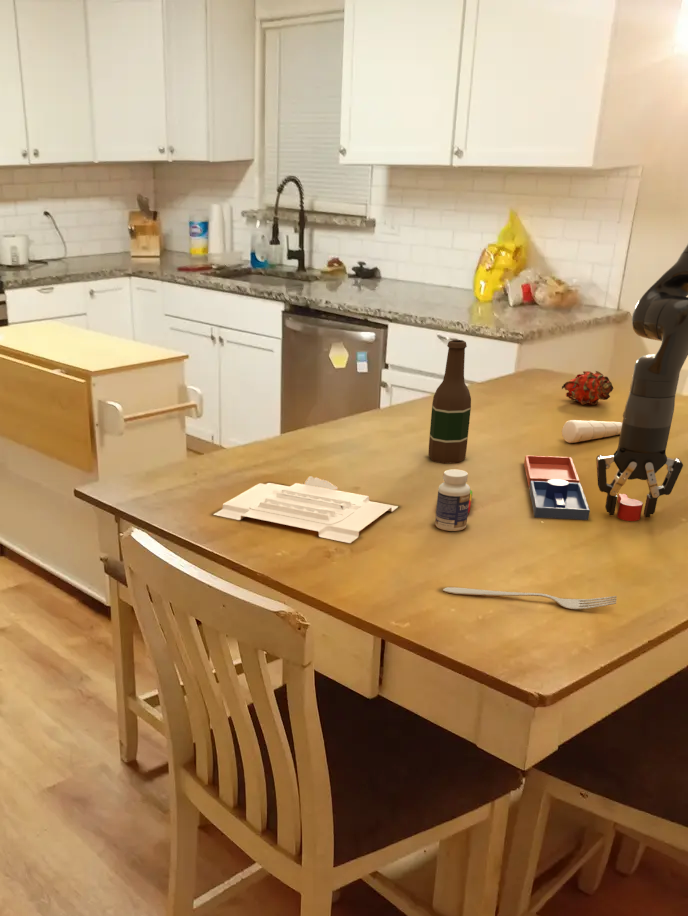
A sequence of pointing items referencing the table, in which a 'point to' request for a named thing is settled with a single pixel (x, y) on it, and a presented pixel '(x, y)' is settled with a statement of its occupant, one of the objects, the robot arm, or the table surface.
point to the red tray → (550, 469)
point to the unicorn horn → (589, 430)
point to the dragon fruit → (588, 387)
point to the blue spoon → (557, 491)
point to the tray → (307, 508)
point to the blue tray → (573, 503)
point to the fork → (563, 602)
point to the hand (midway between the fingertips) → (628, 514)
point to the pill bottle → (453, 501)
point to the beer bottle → (451, 410)
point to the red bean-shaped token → (629, 508)
